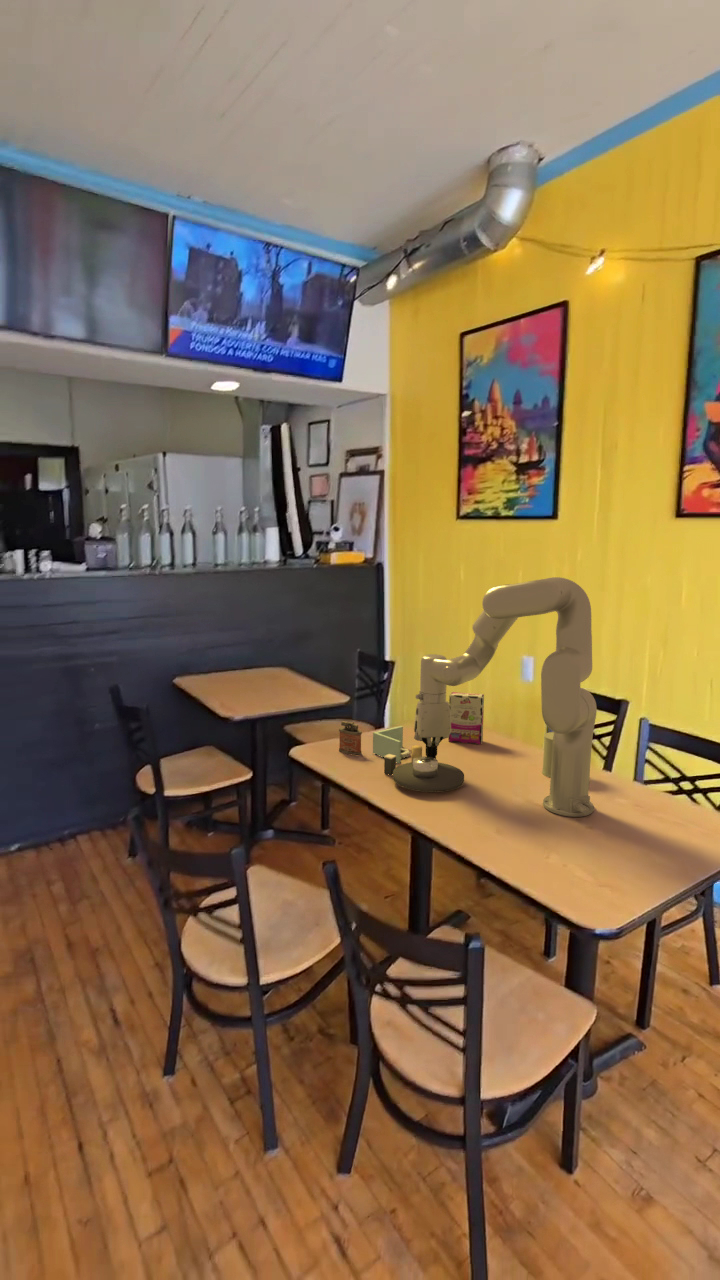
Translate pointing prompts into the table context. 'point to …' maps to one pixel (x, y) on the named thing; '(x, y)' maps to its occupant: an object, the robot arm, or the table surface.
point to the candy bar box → (466, 717)
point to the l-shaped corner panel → (390, 743)
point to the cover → (425, 767)
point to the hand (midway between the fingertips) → (431, 758)
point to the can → (547, 754)
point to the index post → (389, 764)
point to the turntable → (442, 782)
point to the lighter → (350, 739)
